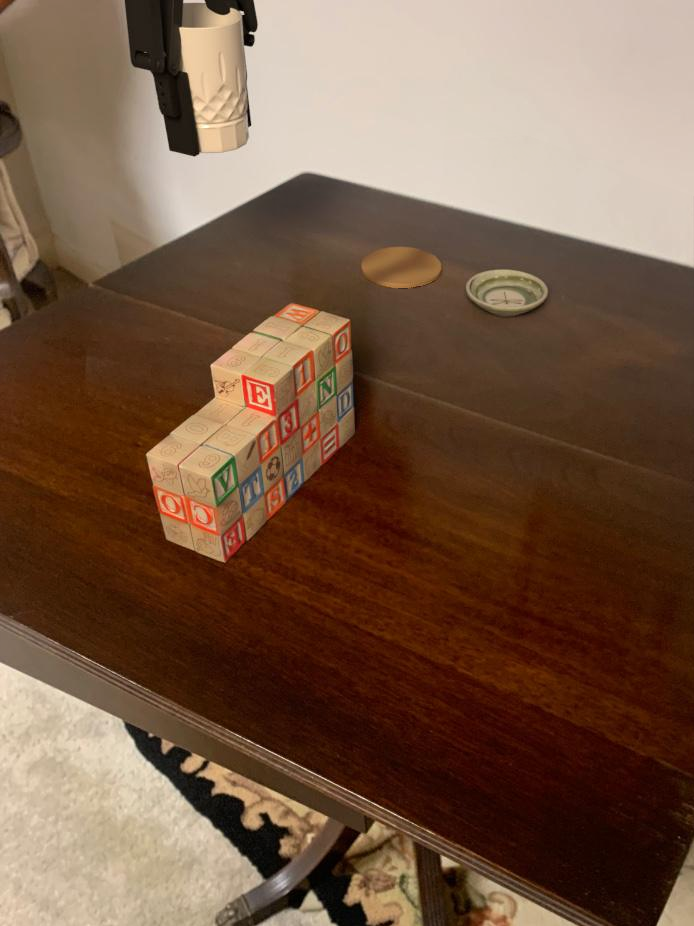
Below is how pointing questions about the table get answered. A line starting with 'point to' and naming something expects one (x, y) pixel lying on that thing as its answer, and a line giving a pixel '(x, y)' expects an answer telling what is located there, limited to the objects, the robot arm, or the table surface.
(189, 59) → the white cup
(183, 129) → the robot arm
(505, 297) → the saucer
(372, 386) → the table surface
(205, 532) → the stack of blocks
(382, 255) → the cork coaster
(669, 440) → the table surface
